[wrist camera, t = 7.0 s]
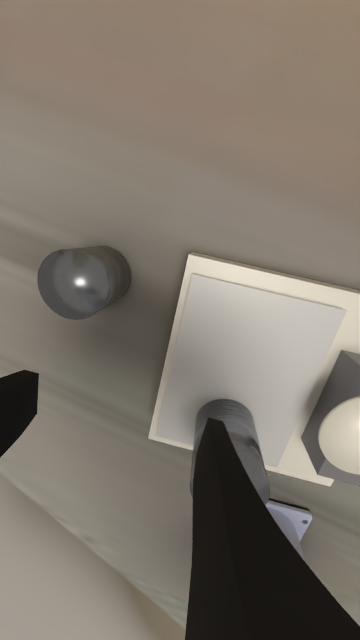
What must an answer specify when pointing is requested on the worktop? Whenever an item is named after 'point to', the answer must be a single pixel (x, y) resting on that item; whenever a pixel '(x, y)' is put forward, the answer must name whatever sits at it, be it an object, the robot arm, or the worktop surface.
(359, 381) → the kitchen scale
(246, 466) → the cylinder
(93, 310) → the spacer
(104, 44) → the worktop surface
